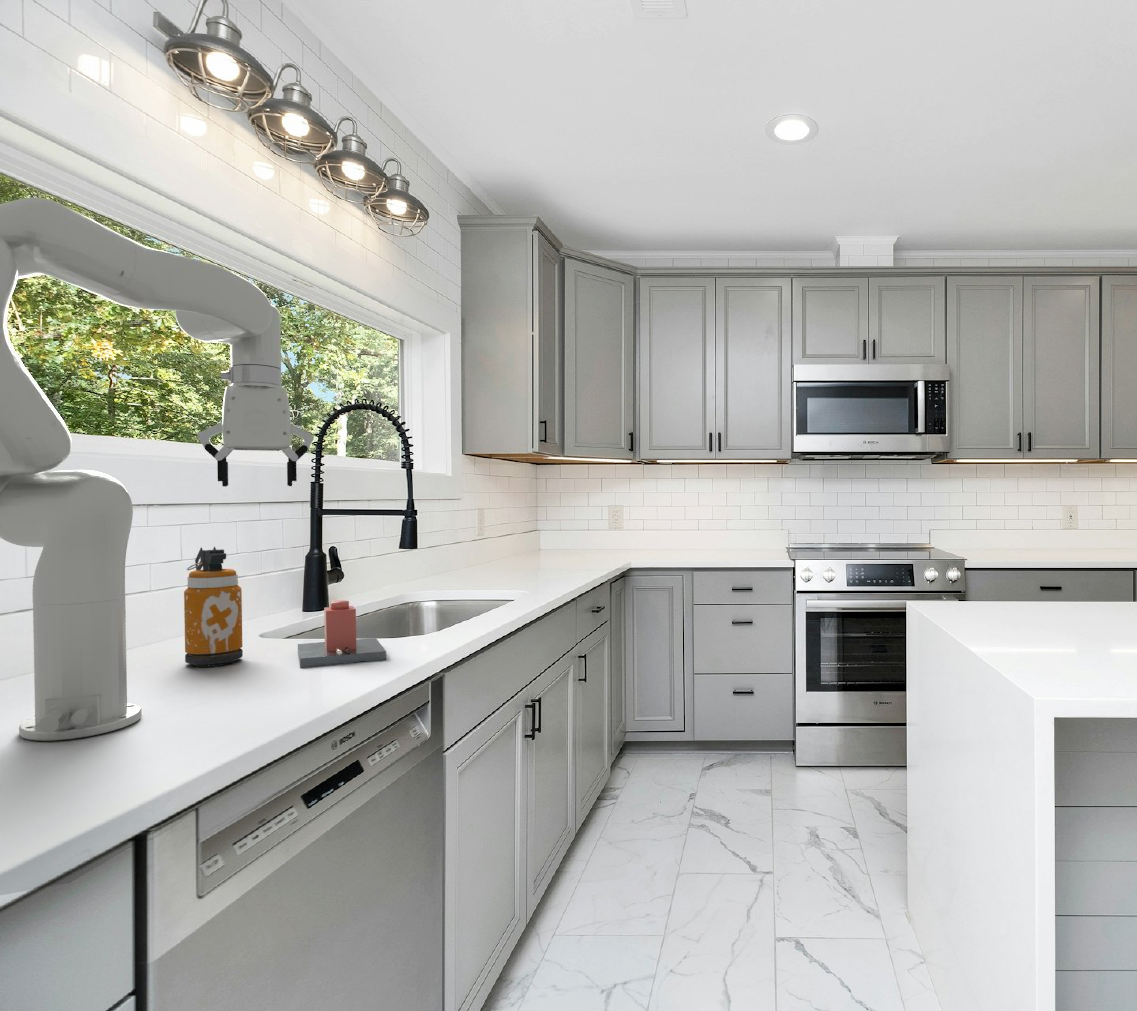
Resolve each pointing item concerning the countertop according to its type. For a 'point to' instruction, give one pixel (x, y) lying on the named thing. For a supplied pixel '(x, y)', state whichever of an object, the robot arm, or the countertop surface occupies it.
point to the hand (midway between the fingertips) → (258, 486)
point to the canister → (212, 612)
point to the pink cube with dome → (340, 626)
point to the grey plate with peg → (340, 653)
